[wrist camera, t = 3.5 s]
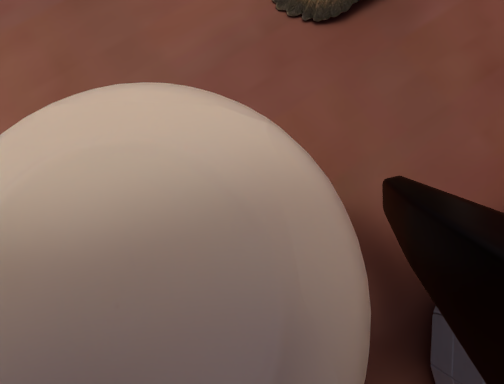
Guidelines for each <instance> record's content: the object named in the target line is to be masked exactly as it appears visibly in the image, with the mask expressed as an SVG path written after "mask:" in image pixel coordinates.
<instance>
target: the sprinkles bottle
mask: <svg viewBox="0 0 504 384" xmlns="http://www.w3.org/2000/svg"><path fill="white" fill-rule="evenodd" d="M370 325H371V306H370V296H369V286H368V278H367V273H366V269H365V264H364V260H363V257H362V253H361V249H360V245H359V241H358V238H357V235H356V233H355V230H354V227H353V225H352V223H351V220H350V218H349V216H348V214H347V211H346V209H345V207H344V205H343V203H342V201H341V199H340V198H339V196H338V194H337V192H336V191H335V189H334V187H333V185H332V183H331V182H330V180H329V178H328V177H327V176H326V175H325V173H324V172H323V171H322V170H321V168H320V167H319V166H318V165H317V163H316V162H315V161H314V160H313V158H312V157H311V156H310V155H309V153H308V152H307V151H306V150H304V149H303V148H302V147H301V146H300V145H299V144H298V143H297V142H296V141H295V140H294V139H293V138H291V137H290V136H289V135H288V134H287V133H286V132H285V131H284V130H283V129H282V128H281V127H279V126H278V125H276V124H275V123H274V122H272V121H271V120H269V119H268V118H266V117H265V116H263V115H261V114H259V113H258V112H256V111H254V110H253V109H251V108H250V107H247V106H245V105H243V104H241V103H239V102H236V101H234V100H231V99H229V98H226V97H224V96H221V95H218V94H216V93H213V92H209V91H206V90H202V89H198V88H194V87H189V86H184V85H176V84H169V83H151V82H142V83H127V84H116V85H111V86H106V87H101V88H96V89H92V90H88V91H85V92H82V93H78V94H75V95H72V96H70V97H67V98H64V99H62V100H59V101H56V102H54V103H52V104H50V105H48V106H46V107H44V108H42V109H40V110H38V111H36V112H34V113H33V114H31V115H29V116H27V117H25V118H24V119H22V120H21V121H19V122H18V123H16V124H15V125H13V126H12V127H11V128H9V129H8V130H6V131H5V132H3V133H2V134H1V135H0V384H364V382H365V378H366V371H367V365H368V358H369V347H370Z"/></svg>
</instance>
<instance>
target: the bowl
mask: <svg viewBox="0 0 504 384" xmlns="http://www.w3.org/2000/svg"><path fill="white" fill-rule="evenodd" d="M430 362H431V365H430V366H431V369H432V373H433V376H434V380H435V383H436V384H486V383H485V382H484V380H483V378H482V377H481V375H480V374H479V372H478V371H477V369H476V368H475V366H474V364H473V363H472V361H471V360H470V358H469V357H468V355H467V353H466V352H465V350H464V349H463V347H462V346H461V344H460V343H459V341H458V339H457V338H456V336H455V335H454V333H453V332H452V330H451V328H450V327H449V325H448V324H447V322H446V321H445V319H444V318H443V316H442V314H441V313H440V311H439V310H438V308H437V307H436V306H435V309H434V314H433V317H432V339H431V361H430Z"/></svg>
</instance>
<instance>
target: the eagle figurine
mask: <svg viewBox="0 0 504 384" xmlns="http://www.w3.org/2000/svg"><path fill="white" fill-rule="evenodd" d="M272 1H273V2H275V3H276V9H278V10H286V11H287V15H289V16H298V15H300V14H302V19H303V20H308V19H311V18H313V20H314V21H321V20H327V19H329V18H330V17H336V16H338V15H339V14H340V13H341V12H346V11H348V10H349V9H350V7H351V5H352V4H353V3H356V2H358V1H359V0H272Z"/></svg>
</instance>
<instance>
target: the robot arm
mask: <svg viewBox="0 0 504 384" xmlns="http://www.w3.org/2000/svg"><path fill="white" fill-rule="evenodd" d="M383 209H384V212H385V215H386V217H387V219H388V221H389V223H390V225H391V228H392V230H393V232H394V234H395V236H396V238H397V240H398V242H399V244H400V246H401V248H402V251H403V253H404V255H405V257H406V259H407V261H408V262H409V264H410V266H411V267H412V269H413V271H414V272H415V274H416V275H417V277H418V278H419V280H420V282H421V283H422V285H423V286H424V288H425V289H426V291H427V293H428V294H429V296H430V297H431V299H432V300H433V302H434V303H435V305H436V307H437V308H438V310H439V311H440V313H441V314H442V316H443V318H444V319H445V321H446V322H447V324H448V325H449V327H450V328H451V330H452V332H453V333H454V335H455V336H456V338H457V339H458V341H459V343H460V344H461V346H462V347H463V349H464V350H465V352H466V353H467V355H468V357H469V358H470V360H471V361H472V363H473V364H474V366H475V368H476V369H477V371H478V372H479V374H480V375H481V377H482V378H483V380H484V382H485V383H486V384H504V213H502V212H500V211H497V210H494V209H491V208H489V207H486V206H483V205H480V204H477V203H475V202H472V201H469V200H466V199H463V198H461V197H458V196H455V195H452V194H450V193H447V192H444V191H441V190H438V189H436V188H433V187H430V186H427V185H425V184H422V183H419V182H416V181H413V180H411V179H408V178H405V177H402V176H395V177H391V178H387V179H385V180H384V181H383Z"/></svg>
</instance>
